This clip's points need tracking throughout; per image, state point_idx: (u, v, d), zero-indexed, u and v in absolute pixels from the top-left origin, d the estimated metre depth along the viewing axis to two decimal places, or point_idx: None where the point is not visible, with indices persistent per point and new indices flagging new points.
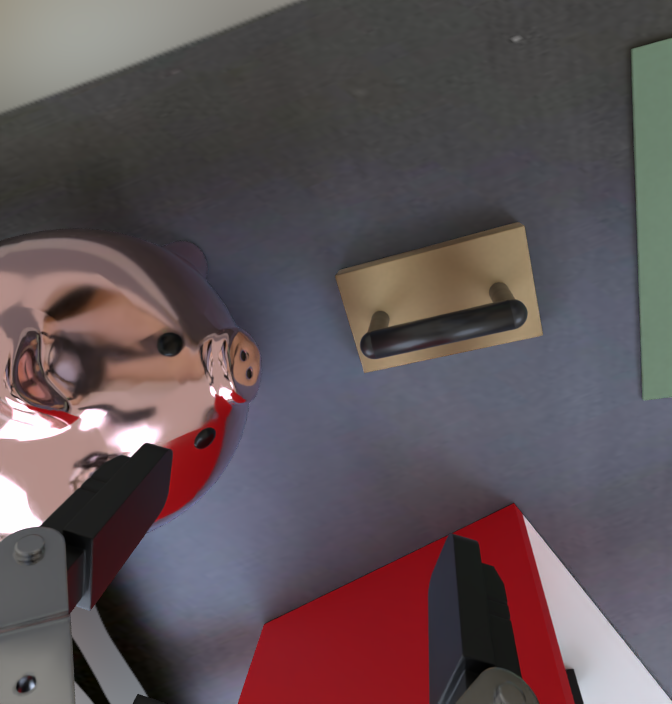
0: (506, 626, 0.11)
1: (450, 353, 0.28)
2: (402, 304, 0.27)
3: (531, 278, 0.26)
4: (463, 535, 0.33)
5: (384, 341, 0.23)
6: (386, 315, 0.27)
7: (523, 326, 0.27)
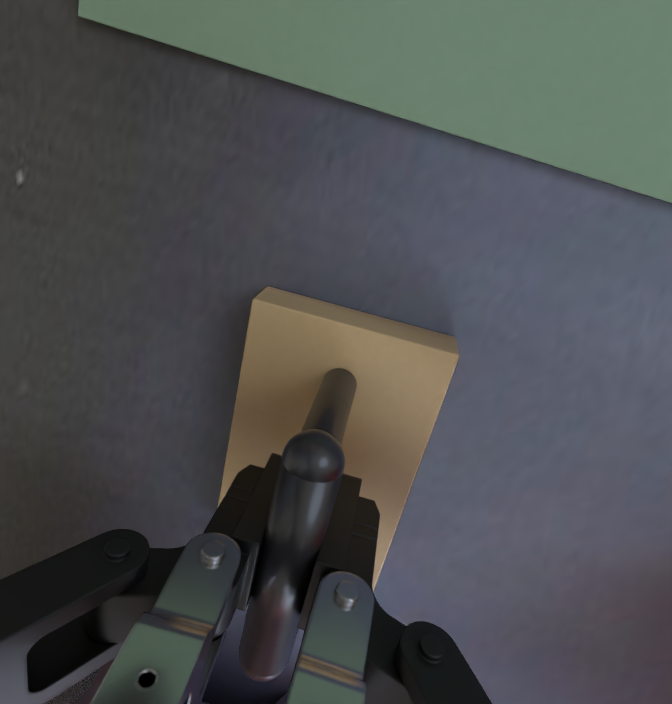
0: (370, 546, 0.12)
1: (406, 493, 0.16)
2: None
3: (345, 327, 0.14)
4: None
5: (251, 654, 0.13)
6: None
7: (423, 376, 0.14)
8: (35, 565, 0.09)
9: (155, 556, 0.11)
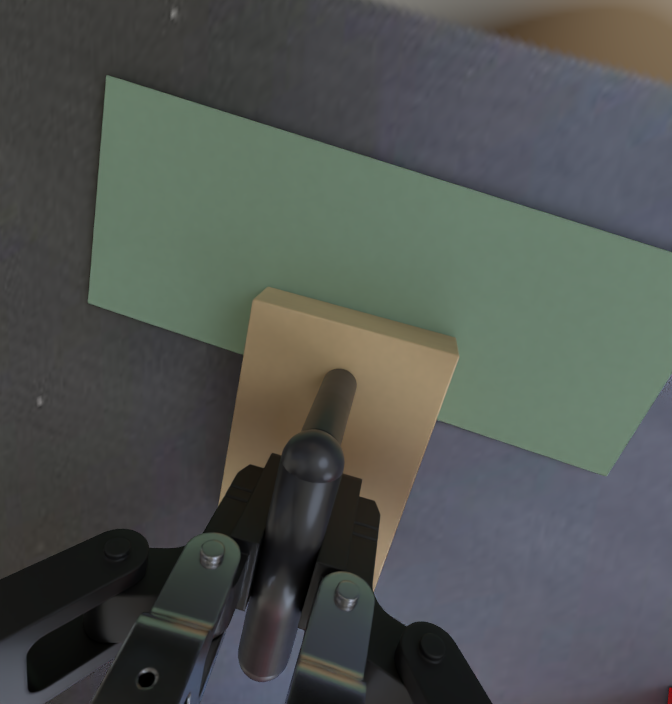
0: (371, 546, 0.12)
1: (406, 494, 0.16)
2: None
3: (346, 327, 0.14)
4: None
5: (250, 654, 0.13)
6: None
7: (423, 377, 0.14)
8: (35, 565, 0.09)
9: (154, 556, 0.11)
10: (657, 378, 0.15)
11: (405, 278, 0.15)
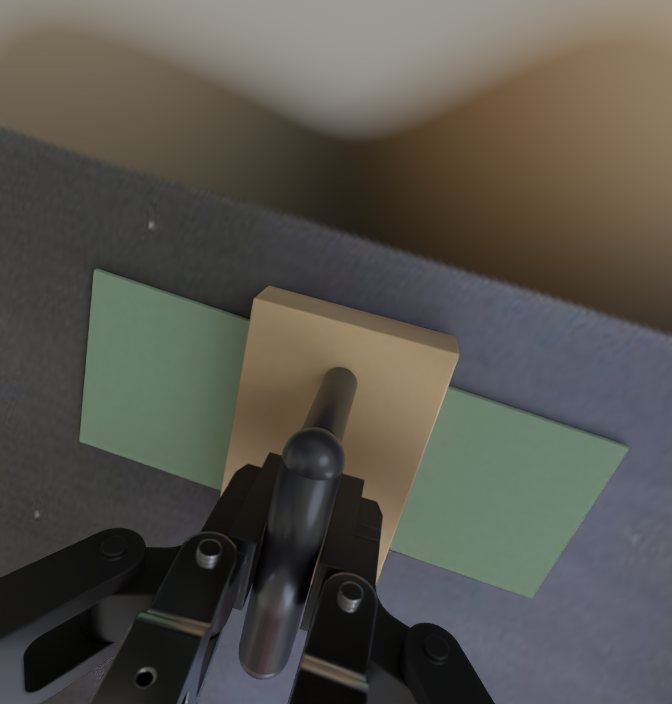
0: (374, 547, 0.12)
1: (406, 492, 0.16)
2: None
3: (346, 326, 0.14)
4: None
5: (251, 652, 0.13)
6: None
7: (423, 375, 0.14)
8: (31, 565, 0.09)
9: (151, 555, 0.11)
10: (570, 525, 0.17)
11: None
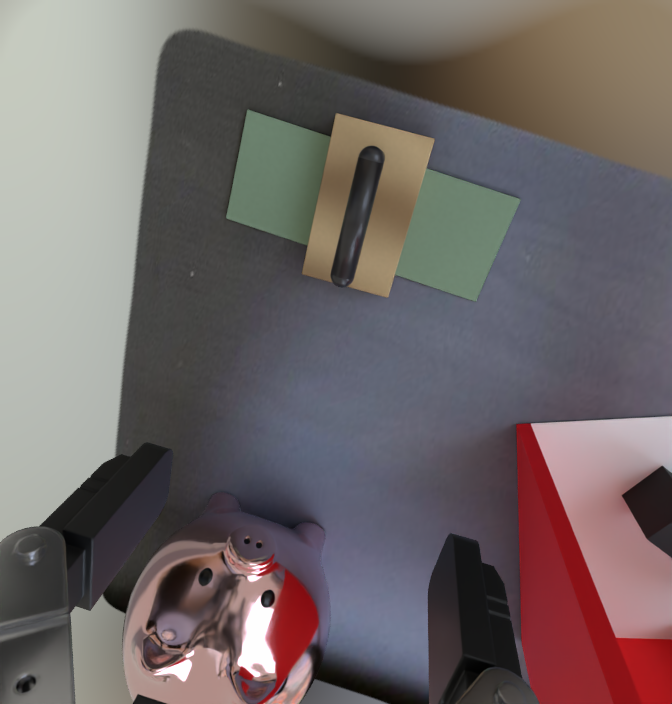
0: (506, 626, 0.11)
1: (408, 222, 0.31)
2: None
3: (380, 126, 0.29)
4: (519, 473, 0.38)
5: (338, 266, 0.28)
6: None
7: (417, 151, 0.29)
8: None
9: None
10: (493, 249, 0.32)
11: None
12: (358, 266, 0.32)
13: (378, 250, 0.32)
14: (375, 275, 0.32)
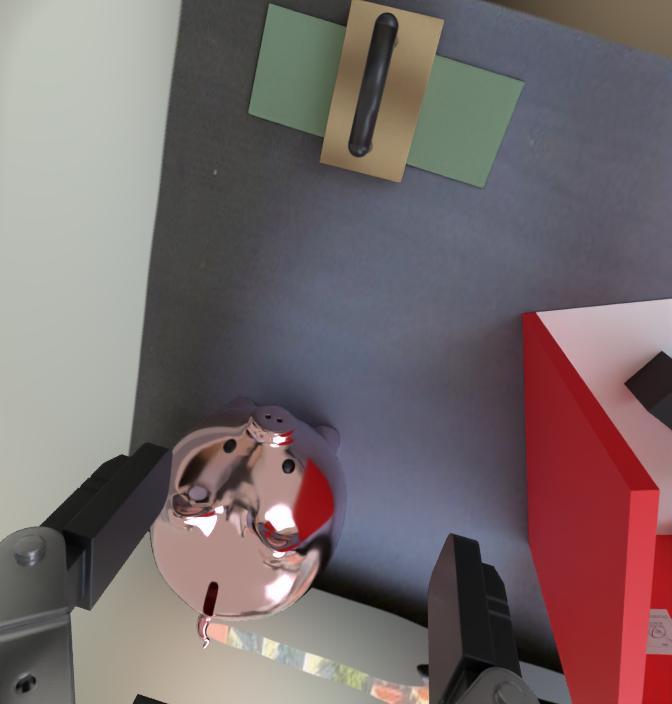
0: (506, 626, 0.11)
1: (419, 104, 0.33)
2: None
3: (393, 9, 0.31)
4: (525, 363, 0.40)
5: (356, 133, 0.30)
6: None
7: (428, 33, 0.31)
8: None
9: None
10: (499, 134, 0.34)
11: None
12: (372, 151, 0.35)
13: (391, 134, 0.34)
14: (388, 160, 0.35)
